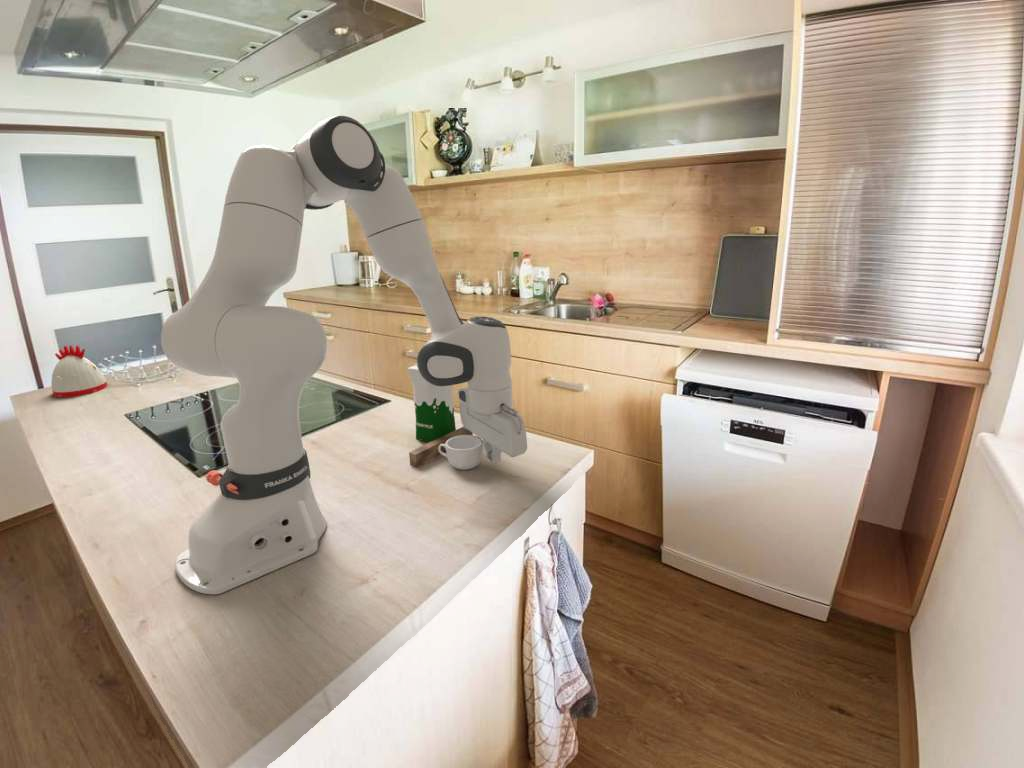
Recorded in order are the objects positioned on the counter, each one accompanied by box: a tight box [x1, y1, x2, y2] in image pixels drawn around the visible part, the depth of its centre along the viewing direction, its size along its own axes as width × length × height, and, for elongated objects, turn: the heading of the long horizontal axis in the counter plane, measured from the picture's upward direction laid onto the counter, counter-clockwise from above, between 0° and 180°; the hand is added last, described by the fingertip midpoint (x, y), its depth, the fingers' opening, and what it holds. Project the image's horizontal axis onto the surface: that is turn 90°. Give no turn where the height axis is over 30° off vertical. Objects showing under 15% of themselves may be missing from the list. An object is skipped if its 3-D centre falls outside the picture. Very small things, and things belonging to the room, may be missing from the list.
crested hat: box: [50, 344, 108, 398], centre depth 166 cm, size 14×14×15 cm
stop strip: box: [408, 426, 474, 468], centre depth 116 cm, size 18×2×3 cm, turn 142°
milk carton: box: [407, 363, 457, 443], centre depth 122 cm, size 9×9×20 cm
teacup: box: [438, 434, 484, 471], centre depth 109 cm, size 10×8×5 cm
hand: (493, 460), depth 108 cm, fingers closed
